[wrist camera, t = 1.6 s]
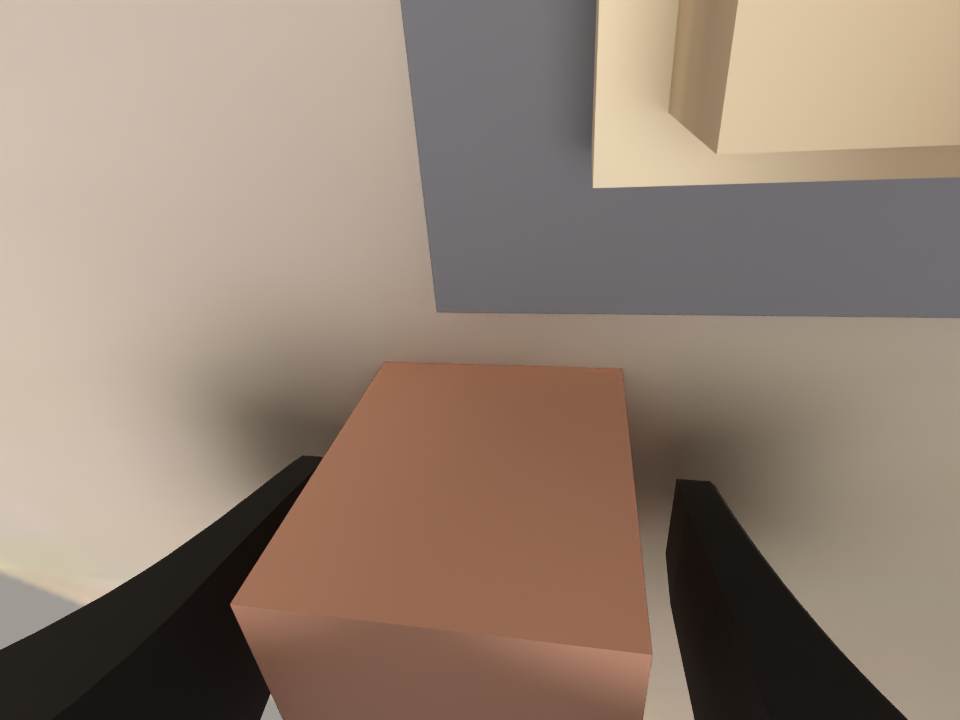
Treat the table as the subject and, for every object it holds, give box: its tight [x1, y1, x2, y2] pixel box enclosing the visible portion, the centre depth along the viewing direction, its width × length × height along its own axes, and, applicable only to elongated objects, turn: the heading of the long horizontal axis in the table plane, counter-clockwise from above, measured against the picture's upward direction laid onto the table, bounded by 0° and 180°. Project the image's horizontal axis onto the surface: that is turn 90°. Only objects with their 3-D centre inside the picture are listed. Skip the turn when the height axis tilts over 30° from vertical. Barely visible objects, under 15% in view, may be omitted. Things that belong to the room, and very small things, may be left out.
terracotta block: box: [230, 362, 652, 720], centre depth 10 cm, size 5×5×6 cm
